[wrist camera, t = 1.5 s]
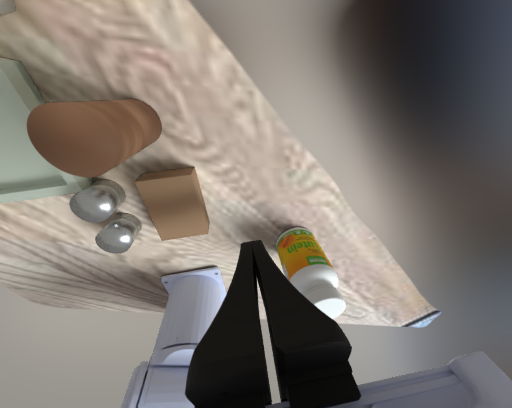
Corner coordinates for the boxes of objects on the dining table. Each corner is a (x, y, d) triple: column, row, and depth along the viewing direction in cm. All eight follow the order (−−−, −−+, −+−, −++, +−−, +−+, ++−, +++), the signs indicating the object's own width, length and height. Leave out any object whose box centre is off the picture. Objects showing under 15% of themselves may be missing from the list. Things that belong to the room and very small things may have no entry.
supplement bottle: (311, 221, 24) (355, 287, 16) (313, 250, 27) (351, 318, 19) (272, 232, 24) (295, 303, 16) (278, 259, 27) (300, 331, 19)
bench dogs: (146, 232, 22) (135, 250, 19) (119, 236, 22) (105, 255, 19) (117, 177, 18) (98, 191, 16) (85, 181, 18) (61, 196, 15)
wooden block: (209, 220, 22) (208, 233, 20) (168, 226, 22) (161, 240, 20) (195, 165, 19) (190, 174, 17) (144, 172, 19) (134, 182, 16)
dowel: (167, 141, 17) (127, 172, 10) (127, 146, 17) (59, 181, 10) (152, 96, 15) (90, 97, 8) (107, 101, 15) (5, 107, 8)
